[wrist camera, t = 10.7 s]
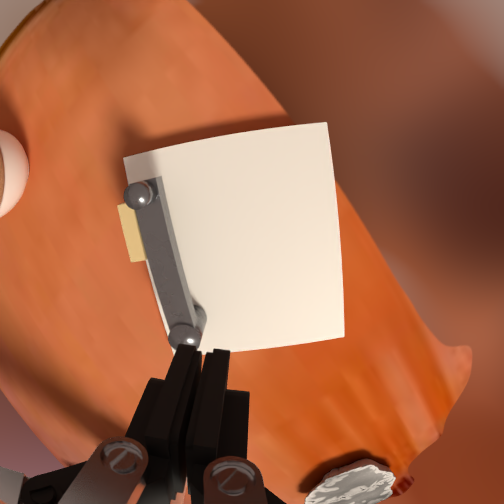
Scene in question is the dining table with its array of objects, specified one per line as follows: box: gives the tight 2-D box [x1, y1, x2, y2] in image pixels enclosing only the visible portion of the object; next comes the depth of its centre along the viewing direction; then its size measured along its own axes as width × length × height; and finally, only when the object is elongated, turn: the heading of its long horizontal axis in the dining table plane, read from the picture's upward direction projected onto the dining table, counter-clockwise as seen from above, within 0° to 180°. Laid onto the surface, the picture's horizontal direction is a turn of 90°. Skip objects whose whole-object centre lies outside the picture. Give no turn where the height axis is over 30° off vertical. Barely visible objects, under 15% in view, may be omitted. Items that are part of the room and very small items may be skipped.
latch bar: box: [124, 176, 207, 350], centre depth 27 cm, size 16×3×6 cm, turn 10°
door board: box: [117, 122, 344, 355], centre depth 29 cm, size 19×22×6 cm
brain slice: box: [304, 459, 396, 504], centre depth 44 cm, size 20×17×3 cm
